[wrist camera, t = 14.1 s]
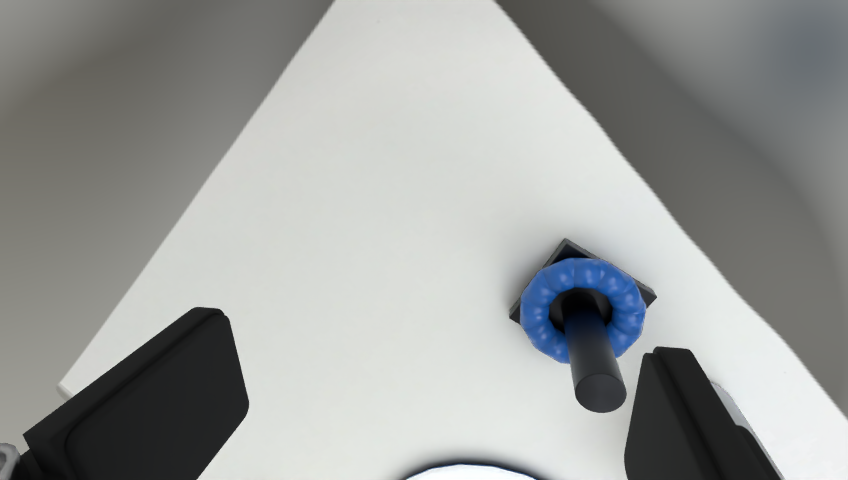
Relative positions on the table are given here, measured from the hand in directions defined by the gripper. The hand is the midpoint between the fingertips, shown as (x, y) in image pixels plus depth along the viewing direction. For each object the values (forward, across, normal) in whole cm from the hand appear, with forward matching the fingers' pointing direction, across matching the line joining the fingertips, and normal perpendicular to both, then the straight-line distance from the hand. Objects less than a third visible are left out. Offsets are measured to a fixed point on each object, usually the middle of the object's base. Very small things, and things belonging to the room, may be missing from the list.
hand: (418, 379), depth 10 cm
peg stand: (+25, -8, +12) cm, 28 cm away
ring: (+22, -7, +11) cm, 26 cm away
